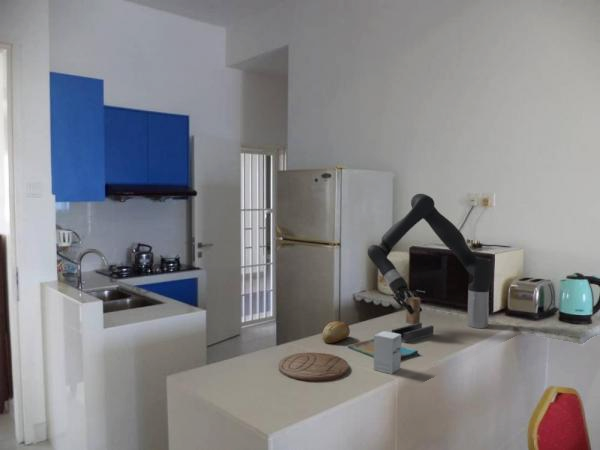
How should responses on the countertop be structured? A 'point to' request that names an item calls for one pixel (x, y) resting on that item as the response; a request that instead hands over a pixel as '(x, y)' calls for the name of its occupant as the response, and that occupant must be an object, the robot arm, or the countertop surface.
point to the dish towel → (368, 349)
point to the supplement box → (387, 352)
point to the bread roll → (335, 332)
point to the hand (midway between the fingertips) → (416, 312)
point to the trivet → (313, 367)
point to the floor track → (413, 332)
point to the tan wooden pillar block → (415, 305)
